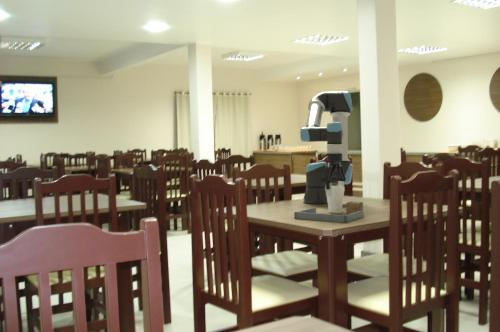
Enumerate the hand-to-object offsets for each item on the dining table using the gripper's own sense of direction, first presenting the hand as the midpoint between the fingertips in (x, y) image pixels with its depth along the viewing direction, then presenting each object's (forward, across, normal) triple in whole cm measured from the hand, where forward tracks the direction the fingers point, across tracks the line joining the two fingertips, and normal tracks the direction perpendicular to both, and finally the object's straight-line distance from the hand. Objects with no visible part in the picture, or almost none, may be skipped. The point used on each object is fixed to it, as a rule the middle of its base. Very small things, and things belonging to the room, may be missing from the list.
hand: (335, 195), depth 272 cm
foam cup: (+9, 0, 0) cm, 9 cm away
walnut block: (+9, +3, +12) cm, 15 cm away
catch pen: (+9, +18, +6) cm, 21 cm away
